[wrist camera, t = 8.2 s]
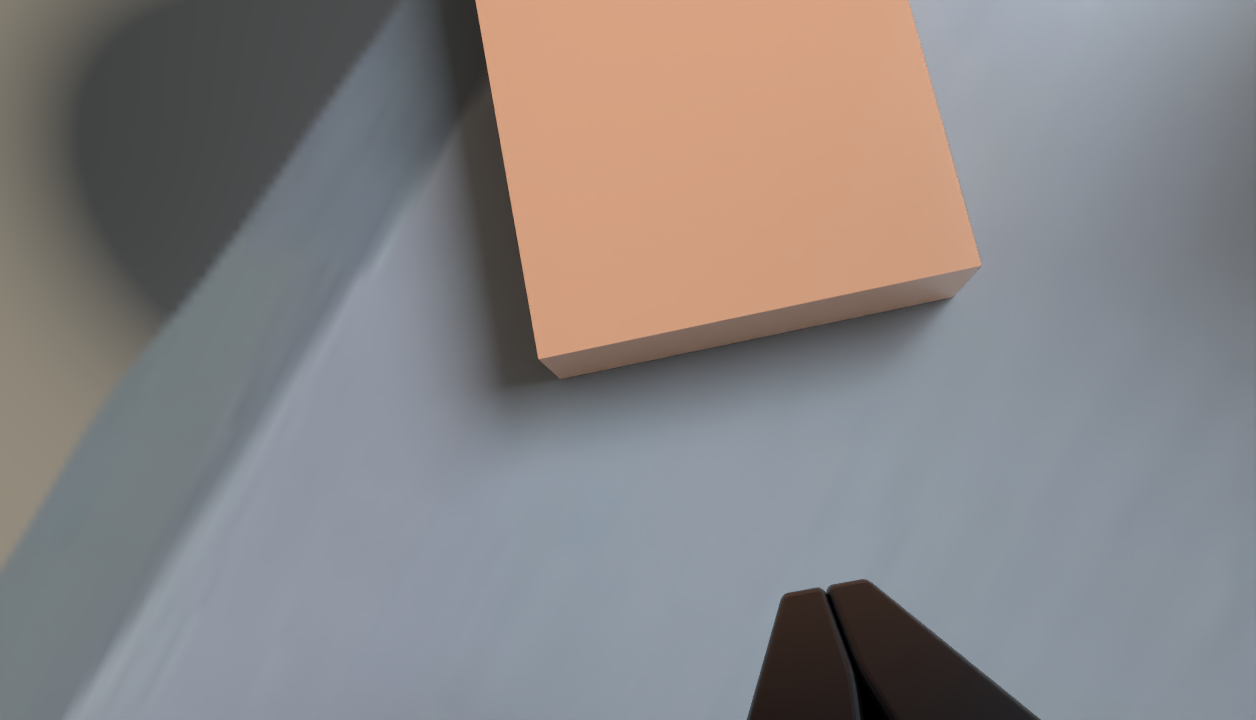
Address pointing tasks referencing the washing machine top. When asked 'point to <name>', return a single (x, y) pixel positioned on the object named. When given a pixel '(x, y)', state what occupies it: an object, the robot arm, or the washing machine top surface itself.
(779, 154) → the block
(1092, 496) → the washing machine top surface
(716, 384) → the washing machine top surface
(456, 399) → the washing machine top surface
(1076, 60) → the washing machine top surface
